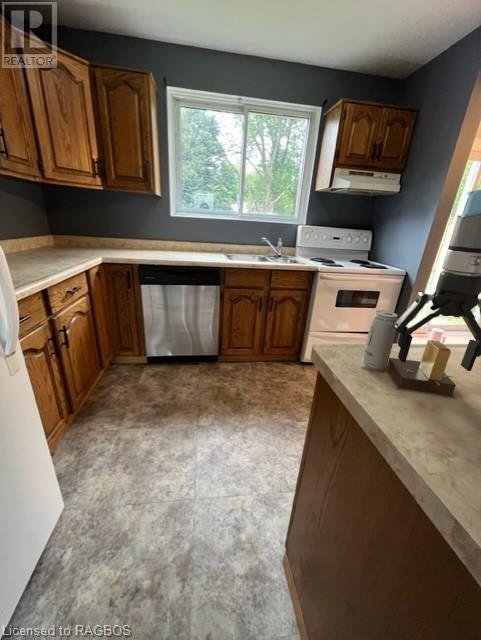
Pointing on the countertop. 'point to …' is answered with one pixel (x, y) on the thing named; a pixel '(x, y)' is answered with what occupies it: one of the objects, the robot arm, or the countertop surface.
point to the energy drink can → (379, 340)
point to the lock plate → (418, 378)
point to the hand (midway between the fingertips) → (432, 364)
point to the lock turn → (434, 360)
